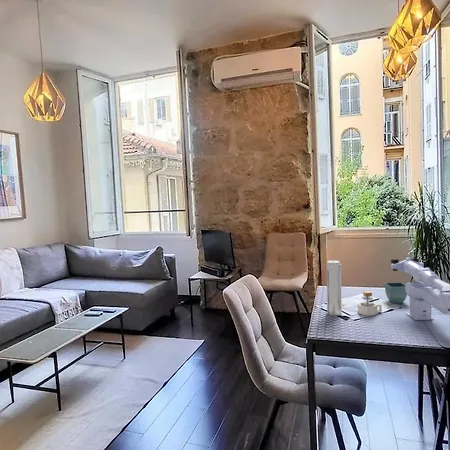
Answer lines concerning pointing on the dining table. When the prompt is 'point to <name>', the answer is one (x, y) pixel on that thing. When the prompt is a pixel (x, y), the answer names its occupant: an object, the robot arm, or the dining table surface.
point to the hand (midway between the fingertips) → (399, 261)
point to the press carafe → (369, 309)
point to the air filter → (334, 288)
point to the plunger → (367, 298)
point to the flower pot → (395, 292)
